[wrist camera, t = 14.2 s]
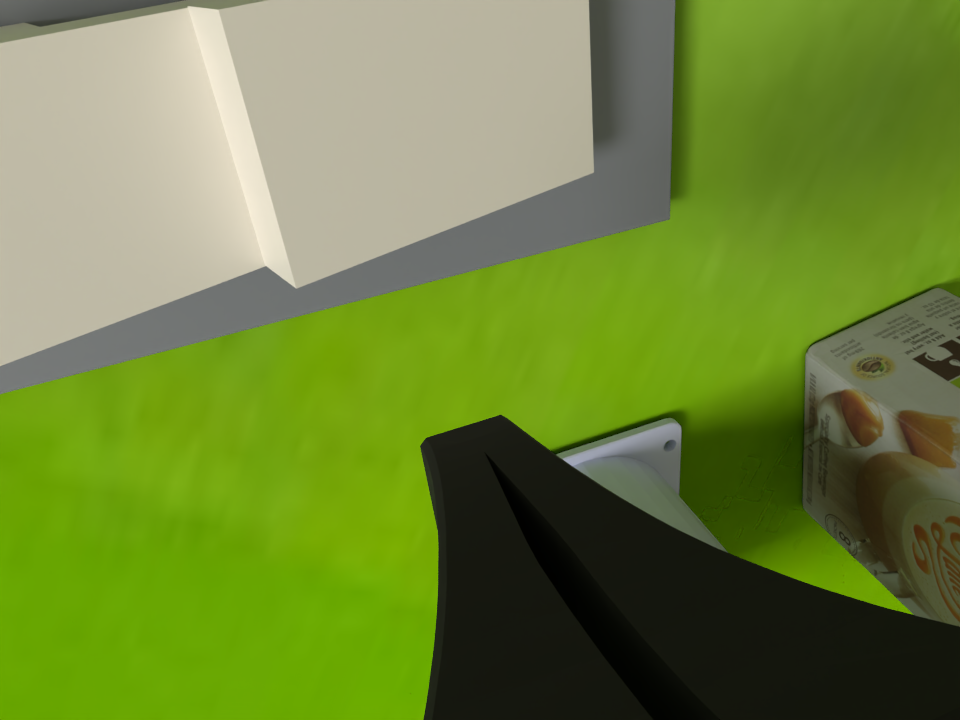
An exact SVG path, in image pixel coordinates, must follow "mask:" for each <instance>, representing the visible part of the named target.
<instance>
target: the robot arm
mask: <svg viewBox="0 0 960 720" xmlns="http://www.w3.org/2000/svg"><path fill="white" fill-rule="evenodd" d="M681 437H682V429H681V426H680V425H679V423H678V422H677V421H676V420H675V419H673V418H665V419H662V420H659V421H656V422H653V423H650V424H647V425H644V426H641V427H638V428H635V429H632V430H629V431H626V432H623V433H620V434H617V435H613V436H610V437H607V438H604V439H601V440H598V441H595V442H592V443H589V444H586V445H583V446H580V447H577V448H574V449H571V450H568V451H565V452H562V453H559V454H554V453H553V452H551V451H550V450H549V449H547V448H546V447H545V446H543V445H542V444H540V443H539V442H538V441H536V440H535V439H534V438H532V437H531V436H530V435H528V434H527V433H526V432H524V431H523V430H522V429H521V428H519V427H518V426H517V425H515V424H514V423H513V422H511V421H510V420H509V419H507V418H505V417H504V416H502V415H499V416H496V417H492V418H489V419H486V420H483V421H479V422H476V423H473V424H470V425H466V426H463V427H460V428H457V429H453V430H450V431H447V432H444V433H441V434H437V435H434V436H431V437H428V438H426V439H425V440H424V442H423V443H422V444H421V446H420V447H421V452H422V457H423V462H424V467H425V471H426V476H427V481H428V486H429V491H430V496H431V500H432V505H433V510H434V515H435V520H436V524H437V529H438V542H439V561H438V603H437V619H436V630H435V642H434V651H433V659H432V667H431V674H430V682H429V690H428V696H427V703H426V709H425V715H424V720H960V627H959V626H955V625H951V624H947V623H943V622H939V621H935V620H931V619H927V618H923V617H919V616H915V615H911V614H907V613H903V612H899V611H895V610H891V609H887V608H884V607H880V606H877V605H873V604H870V603H867V602H864V601H860V600H857V599H854V598H851V597H848V596H844V595H841V594H838V593H835V592H831V591H828V590H825V589H822V588H819V587H816V586H813V585H810V584H808V583H805V582H802V581H799V580H796V579H793V578H790V577H788V576H785V575H783V574H780V573H778V572H775V571H772V570H770V569H767V568H765V567H762V566H759V565H757V564H754V563H752V562H749V561H746V560H744V559H741V558H739V557H737V556H734V555H732V554H730V553H728V552H727V551H726V549H725V548H724V547H723V546H722V545H721V544H720V543H719V541H718V540H717V539H716V538H715V537H714V536H713V535H712V533H711V532H710V531H709V530H708V529H707V528H706V526H705V525H704V524H703V523H702V522H701V521H700V520H699V518H698V517H697V516H696V515H695V514H694V513H693V511H692V510H691V509H690V508H689V507H688V506H687V505H686V503H685V502H684V501H683V500H682V499H681V498H680V497H679V485H680V461H681ZM667 441H669V442H668V443H667V444H665V443H666V442H667ZM664 444H665V445H664Z"/></svg>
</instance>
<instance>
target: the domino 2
mask: <svg viewBox="0 0 960 720" xmlns="http://www.w3.org/2000/svg"><path fill="white" fill-rule="evenodd" d="M188 10H189V13H190V16H191V20H192V23H193V26H194V30H195V33H196V37H197V40H198V43H199V47H200V50H201V53H202V57H203V60H204V63H205V67H206V70H207V73H208V77H209V80H210V83H211V87H212V90H213V93H214V97H215V100H216V103H217V107H218V110H219V113H220V117H221V120H222V123H223V127H224V130H225V133H226V137H227V140H228V143H229V147H230V150H231V153H232V157H233V160H234V163H235V167H236V170H237V173H238V177H239V180H240V183H241V187H242V190H243V193H244V197H245V200H246V203H247V207H248V210H249V213H250V217H251V220H252V223H253V227H254V230H255V233H256V237H257V240H258V243H259V247H260V250H261V254H262V257H263V260H264V264H265V266H267V267H268V268H269V269H271V270H272V271H273V272H275V273H276V274H277V275H279V276H280V277H281V278H283V279H284V280H285V281H287V282H288V283H289V284H291V285H292V286H293V287H295V288H296V289H297V288H299V287H302V286H305V285H307V284H310V283H312V282H315V281H317V280H320V279H323V278H325V277H328V276H330V275H333V274H335V273H338V272H340V271H343V270H346V269H348V268H351V267H353V266H356V265H358V264H361V263H364V262H366V261H369V260H371V259H374V258H376V257H379V256H381V255H384V254H387V253H389V252H392V251H394V250H397V249H399V248H402V247H405V246H407V245H410V244H412V243H415V242H417V241H420V240H422V239H425V238H428V237H430V236H433V235H435V234H438V233H440V232H443V231H446V230H448V229H451V228H453V227H456V226H458V225H461V224H464V223H466V222H469V221H471V220H474V219H476V218H479V217H481V216H484V215H487V214H489V213H492V212H494V211H497V210H499V209H502V208H505V207H507V206H510V205H512V204H515V203H517V202H520V201H522V200H525V199H528V198H530V197H533V196H535V195H538V194H540V193H543V192H546V191H548V190H551V189H553V188H556V187H558V186H561V185H563V184H566V183H569V182H571V181H574V180H576V179H579V178H581V177H584V176H587V175H589V174H592V173H594V158H593V124H592V90H591V57H590V23H589V0H217V1H212V2H207V3H201V4H196V5H190V6H188Z"/></svg>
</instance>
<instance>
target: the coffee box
mask: <svg viewBox="0 0 960 720" xmlns="http://www.w3.org/2000/svg"><path fill="white" fill-rule="evenodd" d="M803 509H804V510H805V511H806V512H807V513H808V514H809V515H810V516H811V517H812V518H813V519H814V520H815V521H816V522H818V523H819V524H820V525H821V526H822V527H823V528H824V529H825V530H826V531H827V532H828V533H829V534H830V535H831V536H832V537H833V538H834V539H835V540H836V541H837V542H838V543H839V544H841V545H842V546H843V547H844V548H845V549H846V550H847V551H848V552H849V553H850V554H851V555H852V556H853V557H854V558H855V559H856V560H857V561H859V562H860V563H861V564H862V565H863V566H864V567H865V568H866V569H867V570H868V571H869V572H870V573H871V574H872V575H873V576H874V577H875V578H876V579H877V580H879V581H880V582H881V583H882V584H883V585H884V586H885V587H886V588H887V589H888V590H889V591H890V592H891V593H892V594H893V595H894V596H895V597H896V598H897V599H898V600H899V601H900V602H901V603H902V604H903V605H904V606H905V607H907V608H908V609H909V610H910V611H911V612H912V613H913V614H914V615H915V616H919V617H923V618H927V619H931V620H935V621H939V622H943V623H947V624H951V625H955V626H959V627H960V298H959V297H957V296H955V295H953V294H952V293H950V292H947V291H945V290H943V289H940V288H935V289H932V290H930V291H928V292H926V293H924V294H921V295H919V296H917V297H915V298H913V299H911V300H908V301H906V302H904V303H902V304H900V305H897V306H895V307H893V308H891V309H889V310H887V311H885V312H882V313H880V314H878V315H876V316H874V317H872V318H870V319H868V320H865V321H863V322H861V323H859V324H857V325H855V326H852V327H850V328H848V329H846V330H844V331H841V332H839V333H837V334H835V335H833V336H831V337H828V338H826V339H824V340H822V341H820V342H817V343H815V344H813V345H812V346H811V347H810V348H809V349H808V351H807V353H806V360H805V410H804V457H803Z"/></svg>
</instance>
